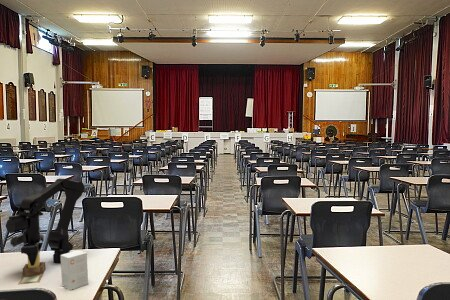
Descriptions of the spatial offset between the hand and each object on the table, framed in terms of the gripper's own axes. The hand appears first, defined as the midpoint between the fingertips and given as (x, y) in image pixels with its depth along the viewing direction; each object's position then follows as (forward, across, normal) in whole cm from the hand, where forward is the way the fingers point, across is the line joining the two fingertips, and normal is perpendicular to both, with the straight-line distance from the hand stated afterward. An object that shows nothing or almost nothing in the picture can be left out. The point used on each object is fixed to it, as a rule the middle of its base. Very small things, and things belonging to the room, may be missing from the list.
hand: (34, 263), depth 176 cm
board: (+5, +4, 0) cm, 7 cm away
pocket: (+5, 0, 0) cm, 5 cm away
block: (+4, 0, 0) cm, 4 cm away
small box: (+5, +18, +18) cm, 26 cm away
